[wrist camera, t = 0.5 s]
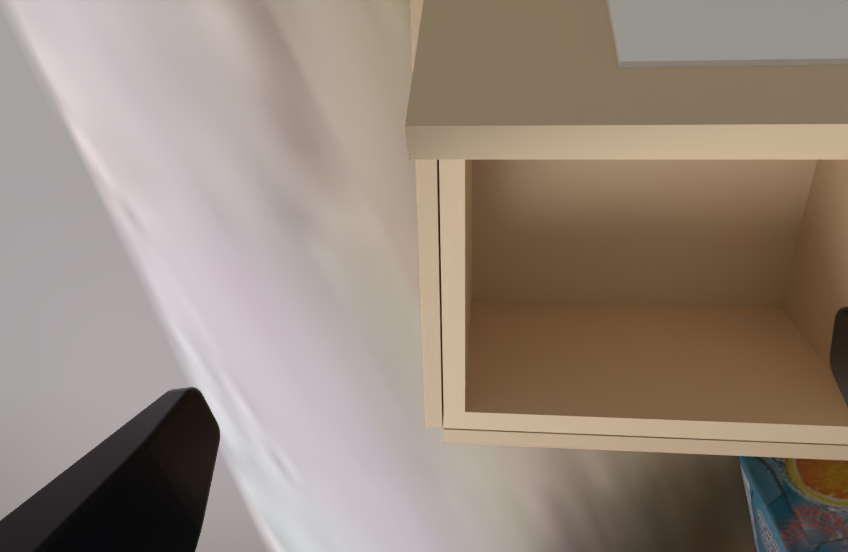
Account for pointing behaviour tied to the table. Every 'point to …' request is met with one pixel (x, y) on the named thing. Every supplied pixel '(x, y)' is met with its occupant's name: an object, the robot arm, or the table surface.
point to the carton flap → (630, 80)
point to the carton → (633, 303)
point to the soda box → (797, 503)
